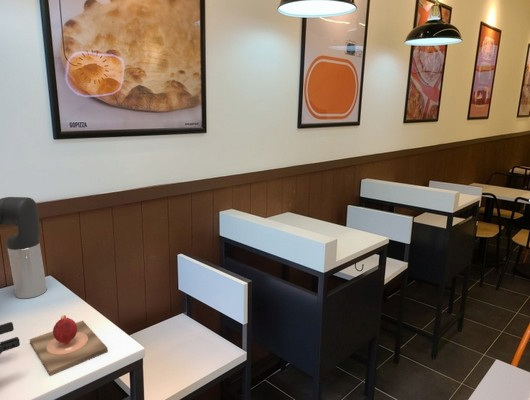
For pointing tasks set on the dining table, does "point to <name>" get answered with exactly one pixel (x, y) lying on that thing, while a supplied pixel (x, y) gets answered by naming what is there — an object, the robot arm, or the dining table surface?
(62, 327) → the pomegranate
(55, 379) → the dining table surface
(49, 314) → the dining table surface
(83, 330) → the serving board
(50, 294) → the dining table surface
